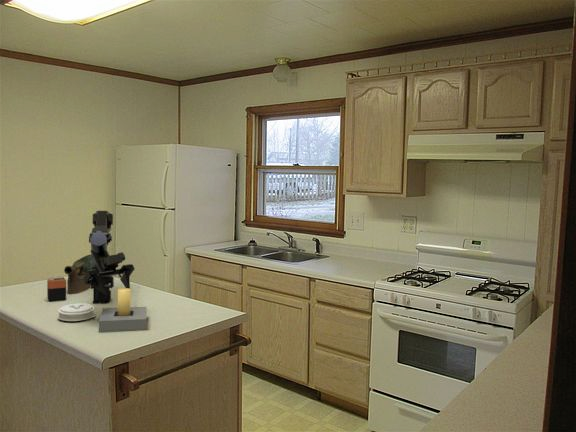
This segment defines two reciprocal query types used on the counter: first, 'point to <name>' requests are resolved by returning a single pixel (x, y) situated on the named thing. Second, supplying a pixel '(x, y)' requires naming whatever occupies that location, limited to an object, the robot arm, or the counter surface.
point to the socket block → (122, 320)
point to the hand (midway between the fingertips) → (118, 292)
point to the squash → (86, 263)
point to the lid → (76, 312)
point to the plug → (124, 302)
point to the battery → (56, 289)
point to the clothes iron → (76, 279)
